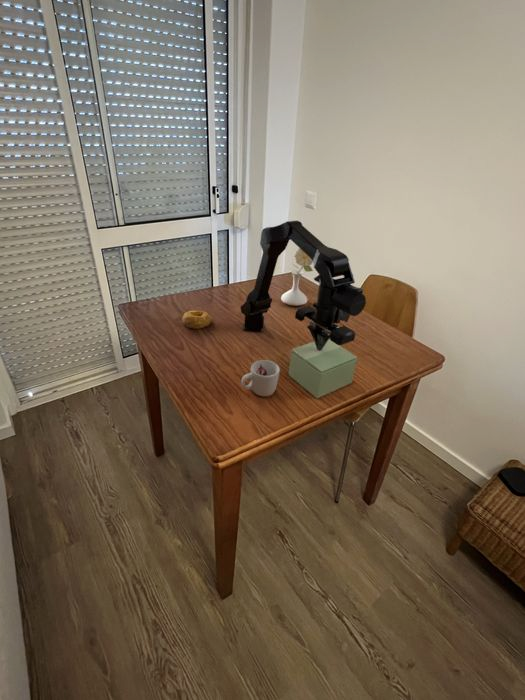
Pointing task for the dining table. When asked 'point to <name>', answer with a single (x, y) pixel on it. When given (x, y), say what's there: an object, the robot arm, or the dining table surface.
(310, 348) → the flap
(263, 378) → the cup
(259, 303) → the robot arm
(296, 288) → the flower in vase
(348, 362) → the carton
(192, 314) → the bagel
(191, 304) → the dining table surface
